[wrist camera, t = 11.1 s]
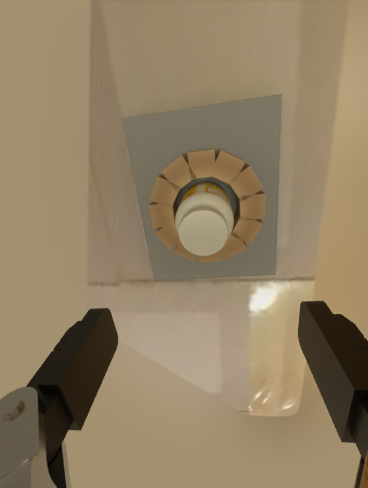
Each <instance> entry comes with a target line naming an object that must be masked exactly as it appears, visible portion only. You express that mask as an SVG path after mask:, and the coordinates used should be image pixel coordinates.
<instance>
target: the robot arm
mask: <svg viewBox="0 0 368 488" xmlns="http://www.w3.org/2000/svg"><path fill="white" fill-rule="evenodd" d="M298 338H299V343H300V346H301V349H302V351H303V354H304V356H305V358H306V361H307V363H308V365H309V367H310V370H311V372H312V374H313V377H314V379H315V381H316V384H317V386H318V388H319V391H320V393H321V395H322V397H323V400H324V402H325V405H326V407H327V409H328V411H329V414H330V416H331V418H332V421H333V423H334V425H335V428H336V430H337V432H338V435H339V437H340V439H341V441H342V442H351V443H352V442H353V443H356V445H357V447H358V450H359V452H360V454H361V458H360V461H359V466H358V471H357V475H356V481H355V485H354V488H368V341H367V339H366V338H364V335H363V334H362V333H361V332H360V330H359V329H358V328H357V327H356V325H355V324H354V323H353V322H351V321H350V320H348V319H347V318H346V317H344V316H343V315H341V314H333V313H332V312H331V310H330V309H329V307H328V306H327V305H326V303H325V302H324V301H306V302H301V305H300V315H299V326H298ZM117 345H118V335H117V331H116V328H115V325H114V321H113V318H112V315H111V312H110V310H109V309H108V308H99V309H90V310H89V311H88V312H87V313H86V315H85V316H84V318H83V319H82V321H78V322H77V323H75V324H74V325H73V326H72V327H71V328H69V329H68V330H67V331H66V333H65V334H64V336H63V337H62V338H61V340H60V342H58V344H57V345H56V346H55V348H54V351H52V352H51V353H50V355H49V356H48V357H47V359H46V360H45V361H44V363H43V364H42V366H41V367H40V368H39V370H38V371H37V372H36V374H35V375H34V377H33V378H32V379H31V381H30V382H29V383H28V385H27V386H26V387H22V388H19V389H16V390H14V391H12V392H10V393H9V394H7V395H6V396H4V397H3V398H2V399H0V488H71V485H70V477H69V468H68V460H67V452H66V445H65V441H64V438H65V436H66V434H67V432H68V430H81V429H82V426H83V424H84V422H85V420H86V417H87V415H88V413H89V411H90V408H91V406H92V404H93V401H94V399H95V397H96V395H97V392H98V390H99V388H100V385H101V383H102V381H103V378H104V376H105V374H106V372H107V369H108V367H109V365H110V362H111V360H112V358H113V356H114V353H115V351H116V349H117Z"/></svg>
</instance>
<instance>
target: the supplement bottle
mask: <svg viewBox="0 0 368 488" xmlns="http://www.w3.org/2000/svg"><path fill="white" fill-rule="evenodd" d="M233 224H234V217H233V212H232V209H231V205H230V202H229V198H228V195H227V193H226V191H225V190H224V189H223V188H222V187H221V186H220V185H219V184H217V183H215V182H212V181H200V182H197V183H195V184H193V185H192V186H191V187H190V188H189V189H188V190H187V191H186V193H185V195H184V197H183V199H182V201H181V203H180V205H179V208H178V210H177V212H176V217H175V226H176V230H177V232H178V234H179V239H180V241H181V243H182V245H183V246H184V248H185V249H186V250H188V251H189V252H191V253H193V254H195V255H199V256H208V255H212V254H214V253H216V252H218V251H219V250H220V249H221V248H222V247H223V246H224V245H225V243H226V241H227V238H228V237H229V236H230V234H231V232H232V229H233Z"/></svg>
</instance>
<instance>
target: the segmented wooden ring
mask: <svg viewBox="0 0 368 488" xmlns="http://www.w3.org/2000/svg"><path fill="white" fill-rule="evenodd" d="M187 154H188V157H187V156H186V155H185V153H184V154H183V155H181V156H180V157H179V158H177V159H176V160H175V161H174V162H172V163H171V164H170V165H169V166H167V167H166V168H165V169H164V170H163V171H161V172H162V174H160V175H159V176H158V177H157V180H156V183H155V185H154V188H153V191H152V194H151V196H150V199H149V200H151V201H152V202H151V203H150V204H149V209H150V214H151V219H152V225H153V228H158V229H157V231H156V232H155V233H156V234H157V235H158V236H159V238H160V239H161V240H162V241H163V243H164V244H165V245H166V246H167V247H168V249H169V250H170V249H172V248H173V247H175V246H176V247H175V251H174V253H175V254H177V255H180V256H182V257H184V258H187V259H189V260H191V261H195V259H196V258H197V256H198V255H195V254H193V253H191V252H189V251H188V250H186V249H185V248H184V246H183V245H182V243H181V241H180V239H179V234H178V232H177V230H176V226H175V217H176V212H177V203H176V198H177V196H178V193H179V191H180V189H181V188H182V187H184V186H185V185H186V184H188V183H189V182H190V181H192V180H193V179H196V178H205V177H214V178H217V179H219V180H221V181H223V182H225V183H228V184H230V186H231V187H232V189H233V190H234V192H235V193H236V195H237V211H236V213H235V215H234V224H233V229H232V232H231V234H230V236H229V237H228V238H227V241H226V243H225V245H224V246H223V247H222V248H221V249H220V250H219V251H218V252H216V253H214V254H212V255H208V256H199V263H202V262H218V261H222V254H223V255H224V256H225V258H226V259H229V258H231V257H233V256H234V255H236V254H238V253H239V252H241V251H243V250H245V249H246V248H247V246H246V243H245V242H247V243H249V244H251V243H252V242H253V240H254V239H255V237H256V235H257V234H258V232H259V230H260V229H261V227H262V225H263V222H262V221H261V219H265V193H264V192H263V191H262V190H261V189H263V188H264V187H263V186H262V184H261V183H260V181H259V179H258V178H257V176H256V175H255V173H254V171H253V170H252V168H251V167H250V165H248V164H247V163H245V161H244V160H242V159H240V158H238V157H236V156H234V155H232V154H229V153H227V152H225V151H223V150H221V149H219V151H218V153H217V156H216V158H215V149H214V148H210V149H202V150H195V151H189V152H188V153H187ZM221 252H222V253H221Z"/></svg>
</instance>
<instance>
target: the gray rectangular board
mask: <svg viewBox="0 0 368 488" xmlns="http://www.w3.org/2000/svg"><path fill="white" fill-rule="evenodd" d="M122 120H123V125H124V130H125V135H126V140H127V145H128V150H129V155H130V160H131V165H132V170H133V175H134V180H135V185H136V190H137V195H138V200H139V205H140V210H141V215H142V220H143V225H144V230H145V235H146V240H147V245H148V250H149V255H150V260H151V265H152V270H153V275H154V280H155V281H160V280H180V279H199V278H218V277H237V276H256V275H275V272H276V243H277V213H278V183H279V153H280V123H281V94H280V95H273V96H267V97H260V98H254V99H247V100H240V101H234V102H227V103H221V104H214V105H208V106H201V107H195V108H188V109H182V110H175V111H168V112H162V113H155V114H149V115H142V116H136V117H129V118H123V119H122ZM210 148H214V149H215V158H216V156H217V153H218V151H219V149H221V150H223V151H225V152H227V153H229V154H232V155H234V156H236V157H238V158H240V159H242V160H244V161H245V163H247V164H248V165H250V167H251V168H252V170H253V171H254V173H255V175H256V176H257V178H258V179H259V181H260V183H261V184H262V186H263V187H264V188H263V189H261V190H262V191H263V192H264V193H265V219H261V221H262V222H263V225H262V227H261V229H260V230H259V232H258V234H257V235H256V237H255V239H254V240H253V242H252V243H251V244H249V243H247V242H245V243H246V246H247V248H246V249H245V250H243V251H241V252H239V253H238V254H236V255H234V256H233V257H231V258H229V259H226V258H225V256H224V255H223V254H222V261H218V262H202V263H199V255H198V256H197V258H196V259H195V261H191V260H189V259H187V258H184V257H182V256H180V255H177V254H175V253H174V251H175V247H176V246H175V247H173V248H172V249H170V250H169V249H168V247H167V246H166V245H165V244H164V243H163V241H162V240H161V239H160V238H159V236H158V235H157V234H156V233H155V232H156V231H157V229H158V228H153V225H152V219H151V214H150V209H149V204H150V203H151V202H152V201H151V200H149V199H150V196H151V194H152V191H153V188H154V185H155V183H156V180H157V177H158V176H159V175H160V174H162V172H161V171H163V170H164V169H165V168H166V167H167V166H169V165H170V164H171V163H172V162H174V161H175V160H176V159H177V158H179V157H180V156H181V155H183V154H184V153H185V155H186V156H187V157H188V154H187V153H188V152H189V151H195V150H202V149H210ZM200 181H212V182H215V183H217V184H219V185H220V186H221V187H222V188H223V189H224V190H225V191H226V193H227V195H228V198H229V202H230V205H231V209H232V212H233V217H234V215H235V213H236V211H237V195H236V193H235V192H234V190H233V189H232V187H231V186H230V184H228V183H225V182H223V181H221V180H219V179H217V178H214V177H205V178H196V179H193V180H192V181H190V182H189V183H188V184H186V185H185V186H184V187H182V188H181V189H180V191H179V193H178V196H177V198H176V203H177V210H178V208H179V205H180V203H181V201H182V199H183V197H184V195H185V193H186V191H187V190H188V189H189V188H190V187H191V186H192V185H193V184H195V183H197V182H200ZM221 253H222V252H221Z"/></svg>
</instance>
